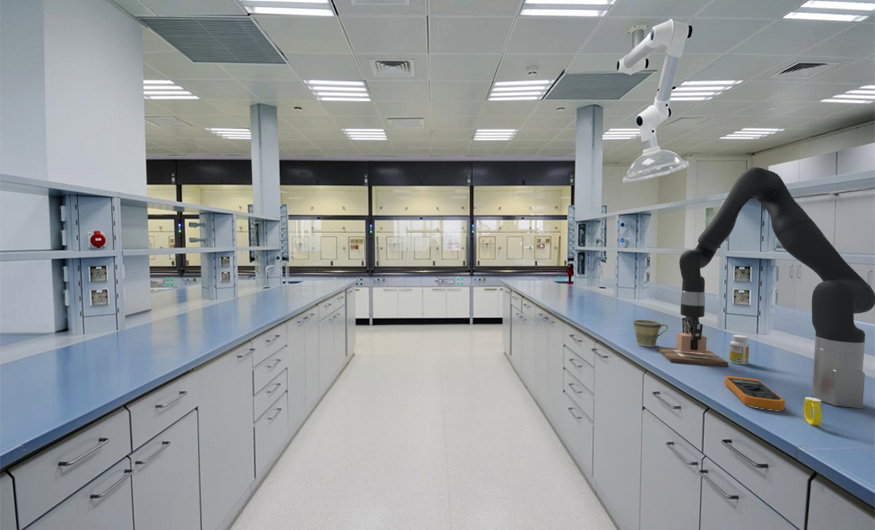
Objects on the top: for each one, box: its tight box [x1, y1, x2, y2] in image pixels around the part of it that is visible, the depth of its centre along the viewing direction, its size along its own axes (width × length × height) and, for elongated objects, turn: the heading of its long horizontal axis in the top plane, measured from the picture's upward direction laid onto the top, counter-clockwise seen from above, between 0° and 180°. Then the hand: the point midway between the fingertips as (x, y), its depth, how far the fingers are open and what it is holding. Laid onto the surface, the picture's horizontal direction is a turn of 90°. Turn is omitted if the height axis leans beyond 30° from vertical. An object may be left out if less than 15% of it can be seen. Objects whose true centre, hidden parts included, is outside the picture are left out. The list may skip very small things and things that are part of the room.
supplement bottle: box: [728, 334, 750, 365], centre depth 138 cm, size 5×5×10 cm
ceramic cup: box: [633, 319, 669, 348], centre depth 161 cm, size 13×10×10 cm
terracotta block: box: [675, 332, 708, 353], centre depth 143 cm, size 6×8×6 cm
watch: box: [803, 396, 823, 427], centre depth 90 cm, size 6×3×6 cm, turn 153°
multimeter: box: [724, 375, 786, 412], centre depth 106 cm, size 9×18×3 cm, turn 158°
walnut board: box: [657, 346, 729, 368], centre depth 143 cm, size 16×18×2 cm
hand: (691, 347), depth 143 cm, fingers closed on terracotta block, 5 cm apart
